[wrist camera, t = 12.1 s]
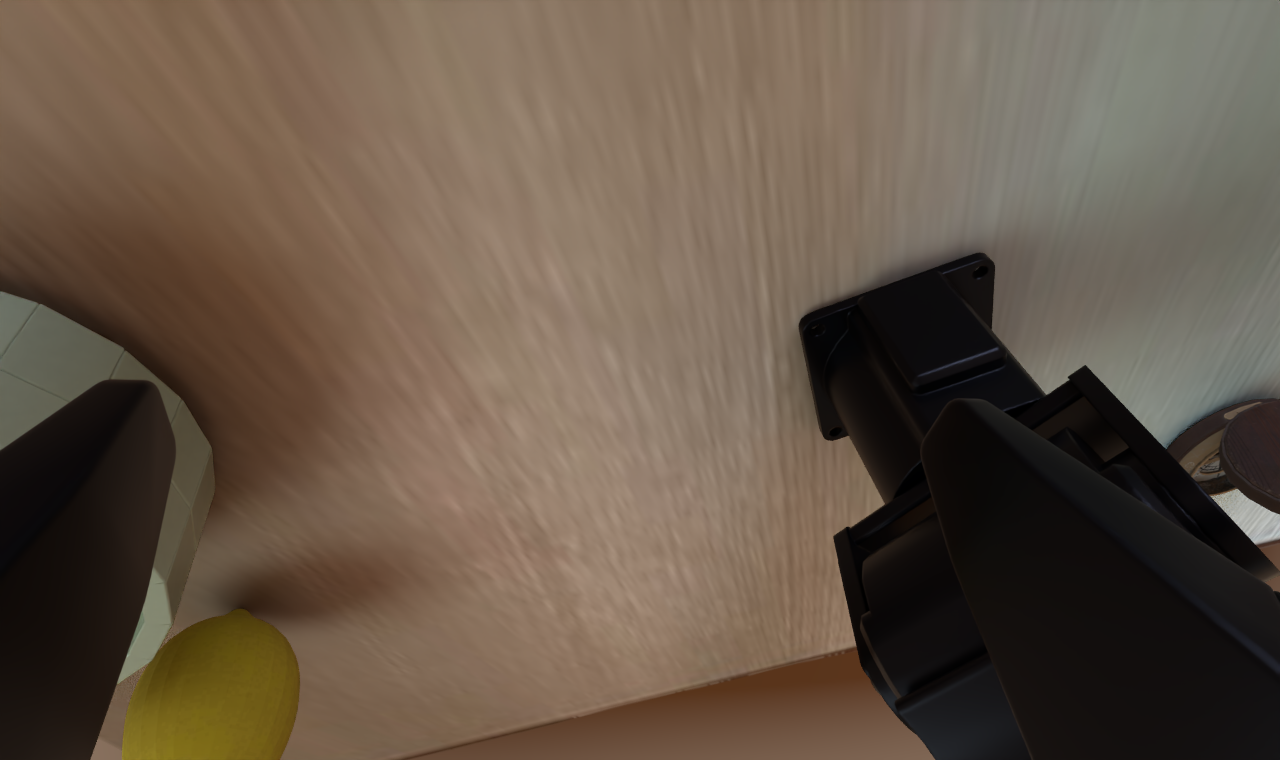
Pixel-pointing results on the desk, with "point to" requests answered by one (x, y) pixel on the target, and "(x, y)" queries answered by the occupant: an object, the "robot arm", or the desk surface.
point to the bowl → (61, 371)
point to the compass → (1236, 451)
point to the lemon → (216, 694)
